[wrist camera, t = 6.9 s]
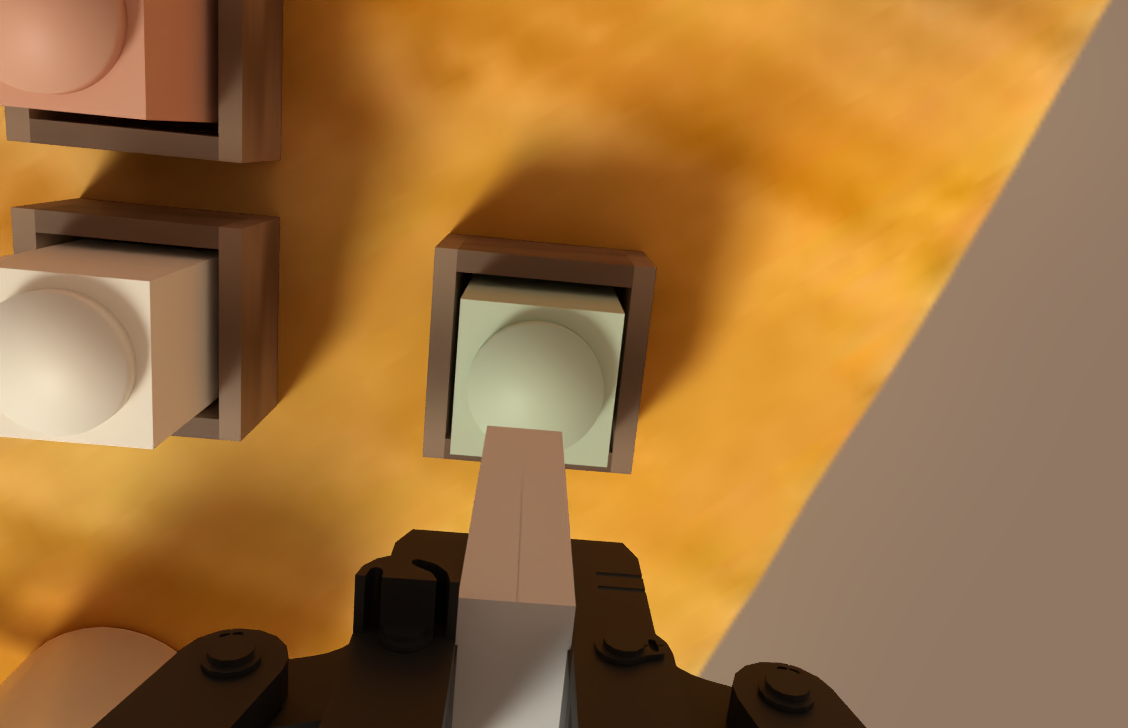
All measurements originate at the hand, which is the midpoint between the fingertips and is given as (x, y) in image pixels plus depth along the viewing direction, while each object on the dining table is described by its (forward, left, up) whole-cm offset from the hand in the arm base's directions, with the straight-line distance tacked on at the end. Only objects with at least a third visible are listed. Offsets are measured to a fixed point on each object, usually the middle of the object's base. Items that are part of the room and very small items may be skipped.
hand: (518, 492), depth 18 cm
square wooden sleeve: (0, -13, -15) cm, 20 cm away
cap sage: (0, 0, -15) cm, 15 cm away
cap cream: (0, -13, -13) cm, 18 cm away
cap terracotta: (-9, -13, -13) cm, 20 cm away
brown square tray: (0, 0, -15) cm, 15 cm away
